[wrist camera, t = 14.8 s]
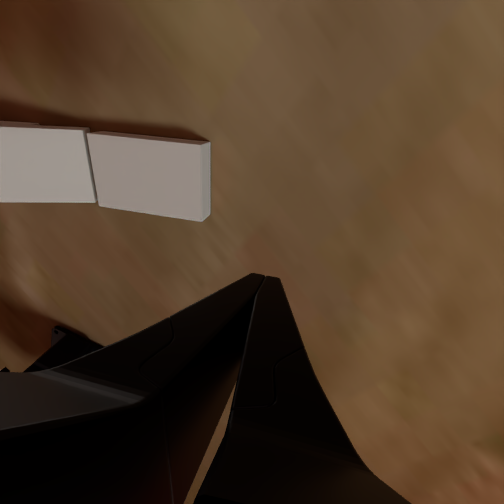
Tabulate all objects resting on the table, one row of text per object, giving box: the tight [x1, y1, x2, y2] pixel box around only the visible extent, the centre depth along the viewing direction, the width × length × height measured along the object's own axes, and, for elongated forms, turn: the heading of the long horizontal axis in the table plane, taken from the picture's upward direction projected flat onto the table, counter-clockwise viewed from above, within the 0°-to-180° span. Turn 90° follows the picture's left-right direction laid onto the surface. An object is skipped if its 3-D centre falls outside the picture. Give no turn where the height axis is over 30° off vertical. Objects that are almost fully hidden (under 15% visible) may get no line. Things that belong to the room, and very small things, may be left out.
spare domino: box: [87, 131, 210, 222], centre depth 22 cm, size 2×5×8 cm
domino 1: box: [0, 124, 98, 203], centre depth 22 cm, size 2×5×8 cm
